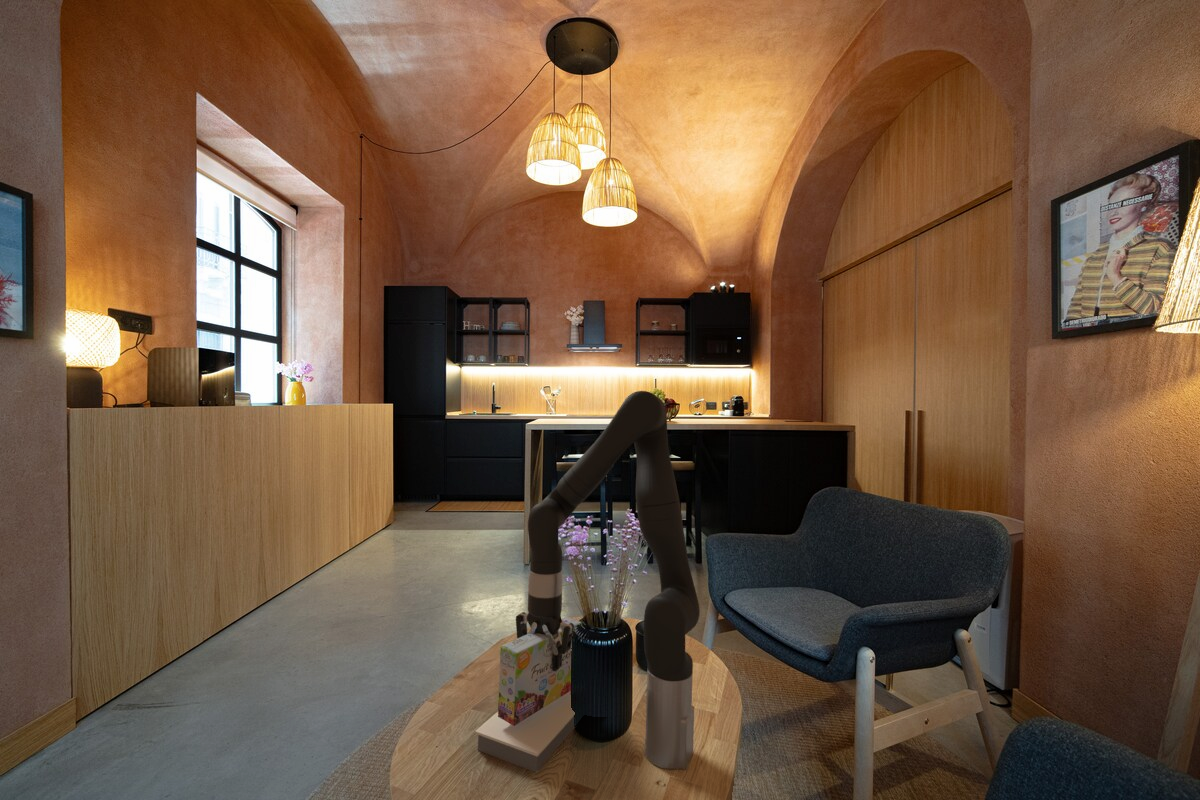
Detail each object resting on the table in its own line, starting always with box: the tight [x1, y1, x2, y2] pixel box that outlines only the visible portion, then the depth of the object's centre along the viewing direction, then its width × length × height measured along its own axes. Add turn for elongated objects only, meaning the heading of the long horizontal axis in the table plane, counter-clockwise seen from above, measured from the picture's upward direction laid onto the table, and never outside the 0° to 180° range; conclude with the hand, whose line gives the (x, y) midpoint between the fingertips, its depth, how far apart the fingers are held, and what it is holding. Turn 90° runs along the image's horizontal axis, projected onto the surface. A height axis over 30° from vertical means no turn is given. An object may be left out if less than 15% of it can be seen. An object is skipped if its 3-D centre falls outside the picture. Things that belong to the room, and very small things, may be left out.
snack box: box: [497, 616, 583, 726], centre depth 115 cm, size 21×6×15 cm, turn 143°
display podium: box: [474, 692, 576, 773], centre depth 115 cm, size 15×27×4 cm, turn 155°
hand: (542, 665), depth 115 cm, fingers closed on snack box, 6 cm apart
